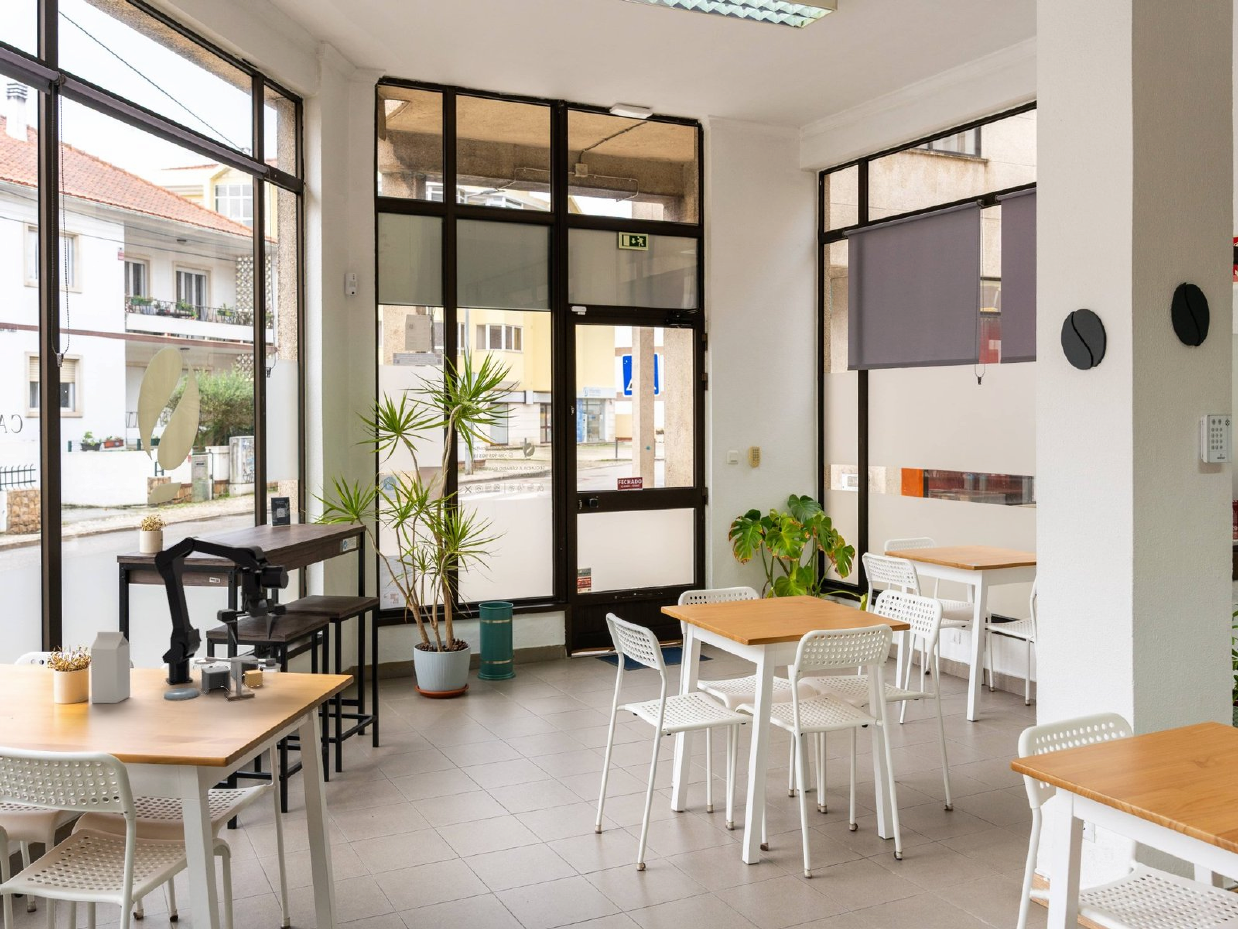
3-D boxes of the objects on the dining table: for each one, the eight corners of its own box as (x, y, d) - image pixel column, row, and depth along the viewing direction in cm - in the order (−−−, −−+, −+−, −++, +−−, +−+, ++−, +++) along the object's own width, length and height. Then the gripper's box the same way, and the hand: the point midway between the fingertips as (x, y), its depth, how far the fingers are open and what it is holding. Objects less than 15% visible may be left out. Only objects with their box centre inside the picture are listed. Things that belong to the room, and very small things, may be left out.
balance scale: (192, 700, 276) (192, 656, 276) (277, 688, 290) (277, 646, 289) (197, 705, 272) (197, 660, 271) (283, 692, 285) (283, 649, 285)
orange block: (244, 685, 294) (244, 671, 294) (258, 683, 296) (258, 669, 296) (248, 687, 291) (248, 674, 291) (262, 685, 293) (262, 672, 293)
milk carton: (117, 703, 273) (116, 634, 272) (91, 703, 273) (90, 634, 272) (130, 697, 280) (129, 629, 279) (105, 696, 280) (104, 629, 280)
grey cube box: (201, 689, 288) (201, 668, 288) (225, 686, 292) (224, 665, 292) (207, 694, 283) (206, 673, 283) (230, 690, 287) (230, 670, 287)
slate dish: (161, 694, 283) (161, 691, 282) (194, 690, 288) (194, 686, 288) (167, 701, 275) (167, 698, 275) (202, 696, 280) (202, 693, 280)
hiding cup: (230, 677, 303) (230, 657, 302) (252, 674, 306) (252, 655, 306) (236, 681, 297) (236, 661, 297) (258, 678, 301) (258, 659, 301)
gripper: (226, 595, 283) (228, 650, 283) (292, 588, 294) (293, 641, 294) (215, 591, 292) (217, 644, 292) (280, 584, 303) (281, 635, 303)
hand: (252, 641), depth 295 cm, fingers open, 9 cm apart
